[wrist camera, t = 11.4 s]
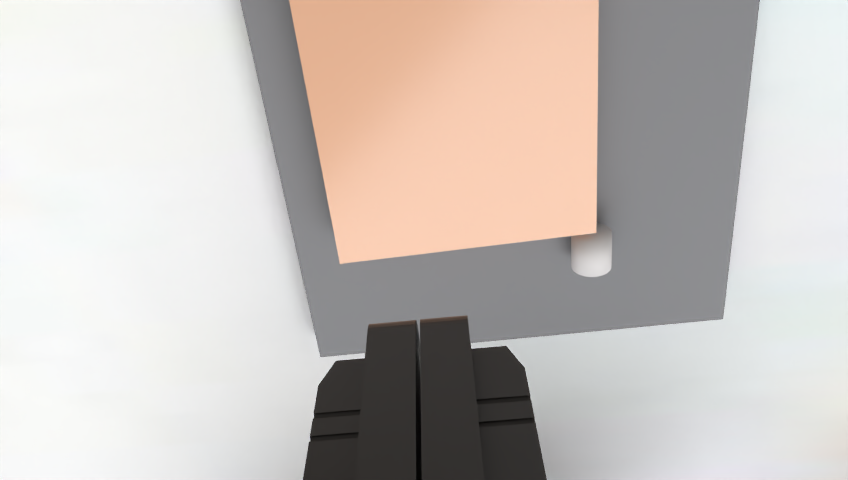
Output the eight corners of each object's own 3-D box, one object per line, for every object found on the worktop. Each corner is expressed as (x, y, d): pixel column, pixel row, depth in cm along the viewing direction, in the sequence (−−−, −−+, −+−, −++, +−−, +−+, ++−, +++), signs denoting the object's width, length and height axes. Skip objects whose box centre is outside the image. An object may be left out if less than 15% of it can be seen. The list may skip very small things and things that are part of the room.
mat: (171, -364, 22) (137, -388, 19) (788, -447, 21) (843, -485, 19) (323, 336, 35) (316, 381, 32) (710, 299, 34) (736, 342, 32)
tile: (600, -181, 22) (587, -181, 23) (262, -139, 22) (268, -141, 23) (596, 233, 29) (587, 215, 30) (340, 264, 29) (341, 244, 30)
